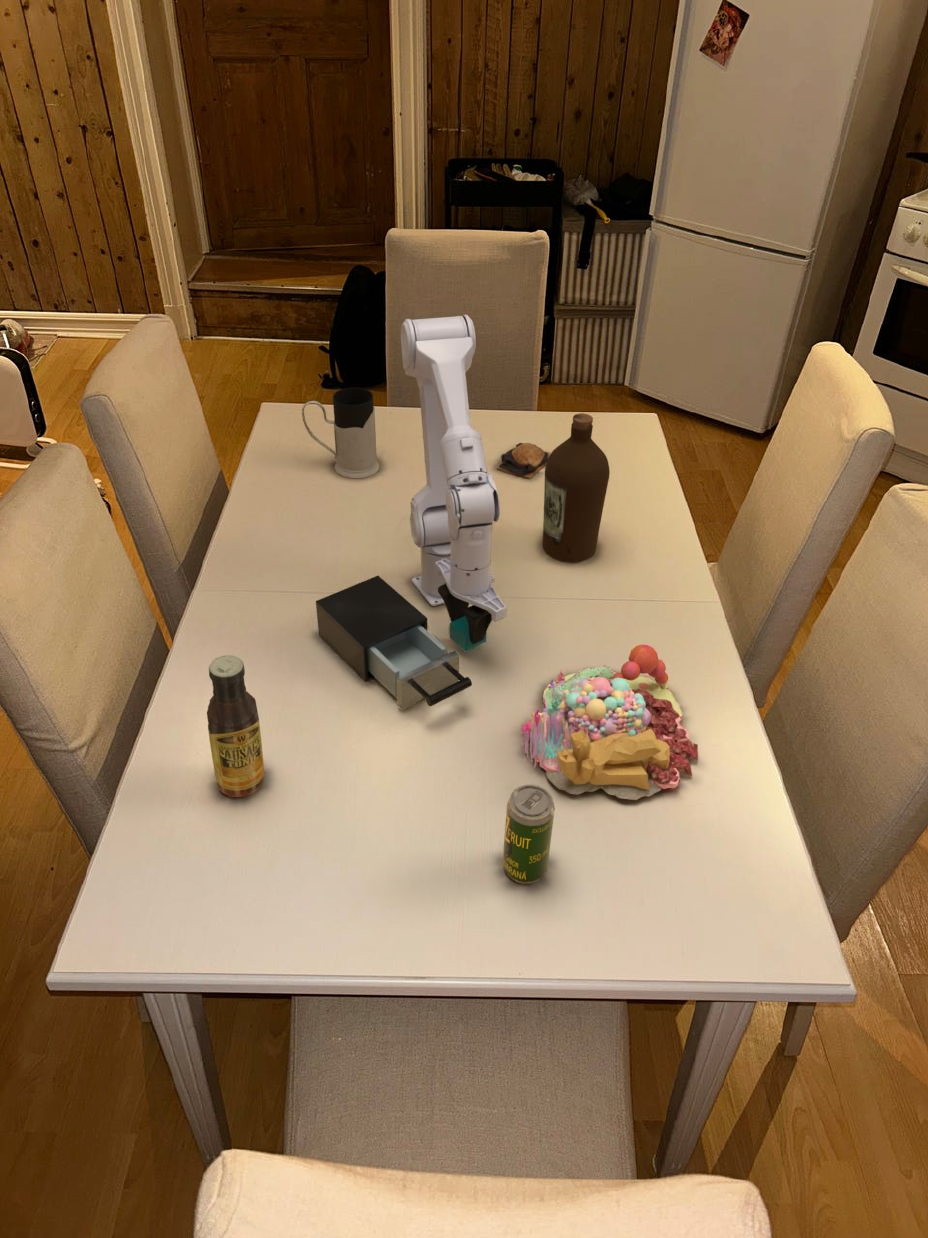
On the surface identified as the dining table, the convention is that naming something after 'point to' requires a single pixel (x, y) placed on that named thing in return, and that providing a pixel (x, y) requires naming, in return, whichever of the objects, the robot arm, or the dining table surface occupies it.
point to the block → (462, 634)
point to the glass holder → (352, 432)
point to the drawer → (416, 668)
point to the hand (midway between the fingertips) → (468, 632)
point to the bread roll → (523, 460)
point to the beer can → (528, 833)
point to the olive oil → (574, 494)
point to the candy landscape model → (612, 730)
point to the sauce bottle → (234, 730)
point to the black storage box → (364, 620)
